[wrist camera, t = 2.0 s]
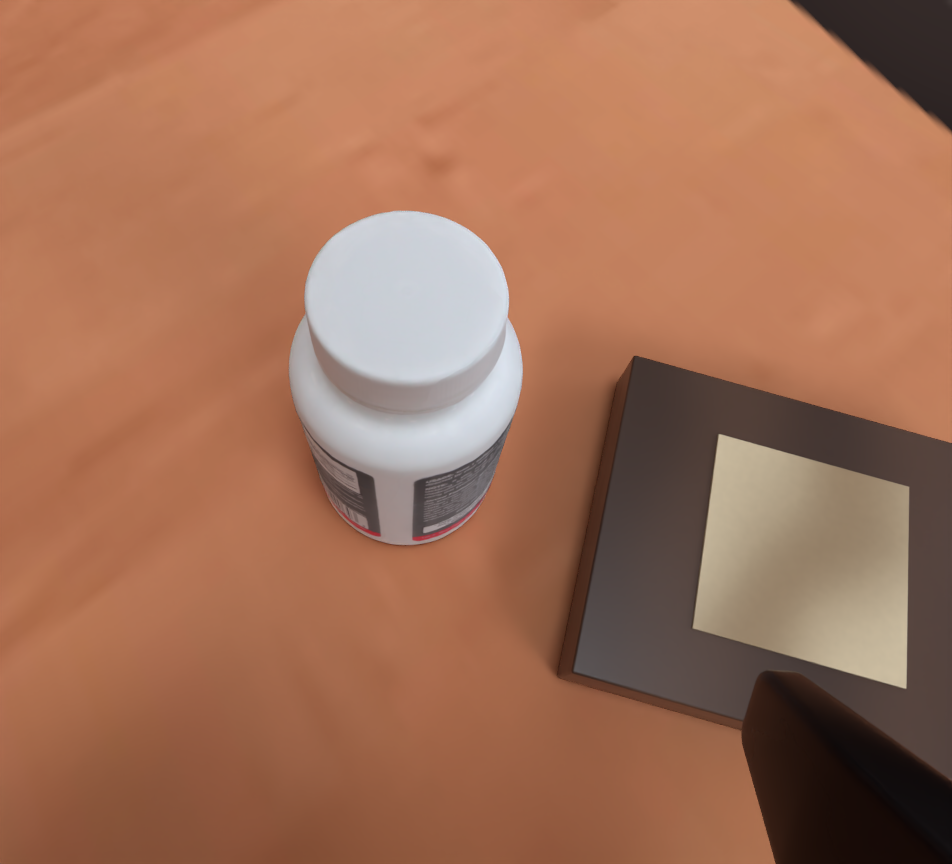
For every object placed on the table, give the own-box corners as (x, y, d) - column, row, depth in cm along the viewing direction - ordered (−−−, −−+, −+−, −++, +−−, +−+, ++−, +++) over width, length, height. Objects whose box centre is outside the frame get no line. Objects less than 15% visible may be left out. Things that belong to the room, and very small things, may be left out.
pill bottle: (489, 391, 24) (539, 188, 15) (493, 549, 22) (556, 423, 13) (326, 387, 23) (276, 174, 14) (314, 548, 21) (249, 417, 12)
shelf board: (556, 677, 20) (571, 672, 19) (616, 382, 24) (635, 352, 22) (959, 792, 20) (1018, 799, 18) (954, 476, 24) (1002, 454, 22)
